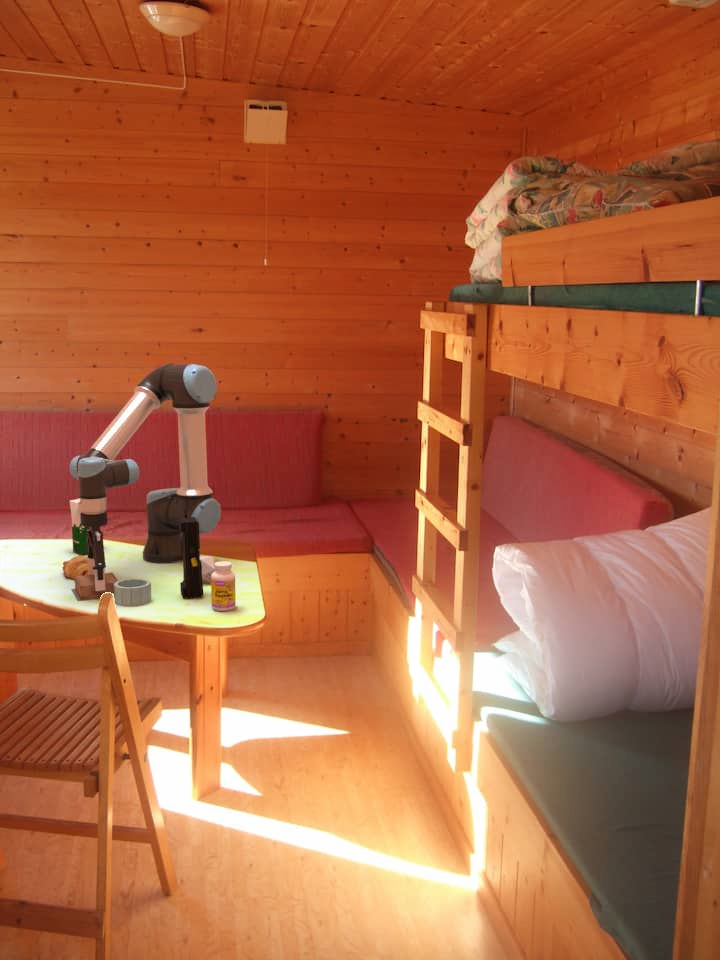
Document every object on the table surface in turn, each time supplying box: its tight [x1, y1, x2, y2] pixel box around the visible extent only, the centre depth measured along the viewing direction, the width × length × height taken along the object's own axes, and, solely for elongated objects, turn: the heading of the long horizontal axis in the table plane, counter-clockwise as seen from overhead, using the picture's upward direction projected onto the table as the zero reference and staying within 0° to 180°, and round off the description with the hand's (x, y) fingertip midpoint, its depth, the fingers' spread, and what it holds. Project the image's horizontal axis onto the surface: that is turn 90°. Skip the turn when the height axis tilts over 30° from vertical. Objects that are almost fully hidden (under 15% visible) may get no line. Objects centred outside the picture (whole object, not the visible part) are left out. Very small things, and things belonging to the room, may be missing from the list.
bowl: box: [113, 577, 152, 607], centre depth 278 cm, size 10×10×5 cm
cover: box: [74, 572, 119, 600], centre depth 286 cm, size 11×11×4 cm
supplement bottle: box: [210, 561, 236, 612], centre depth 272 cm, size 7×7×13 cm
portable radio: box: [179, 509, 205, 599], centre depth 282 cm, size 8×6×25 cm
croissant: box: [62, 554, 89, 581], centre depth 303 cm, size 21×10×8 cm, turn 44°
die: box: [200, 555, 217, 584], centre depth 298 cm, size 8×9×10 cm
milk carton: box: [69, 498, 87, 556], centre depth 332 cm, size 9×9×20 cm
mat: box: [71, 588, 101, 602], centre depth 286 cm, size 13×13×1 cm
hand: (97, 585), depth 286 cm, fingers closed on cover, 11 cm apart
